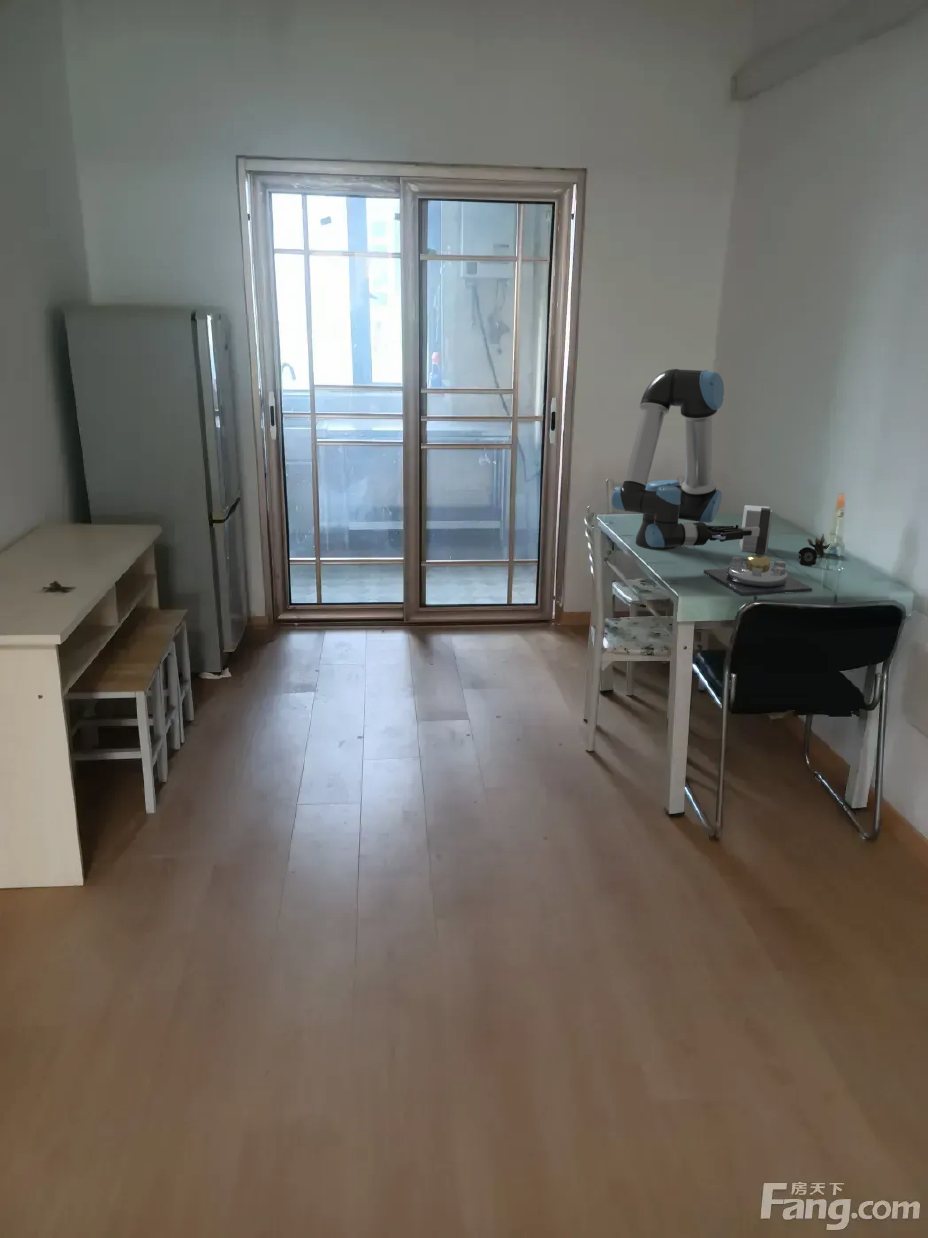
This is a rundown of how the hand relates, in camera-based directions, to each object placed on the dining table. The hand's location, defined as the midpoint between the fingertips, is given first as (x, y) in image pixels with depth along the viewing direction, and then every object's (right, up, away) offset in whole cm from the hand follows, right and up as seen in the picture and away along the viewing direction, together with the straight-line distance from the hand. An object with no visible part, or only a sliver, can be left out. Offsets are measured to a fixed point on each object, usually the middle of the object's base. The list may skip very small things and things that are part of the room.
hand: (757, 531), depth 294 cm
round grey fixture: (-3, -14, -7) cm, 16 cm away
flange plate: (-5, -17, -12) cm, 22 cm away
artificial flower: (+24, -8, +15) cm, 29 cm away
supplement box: (+7, -4, +25) cm, 26 cm away
